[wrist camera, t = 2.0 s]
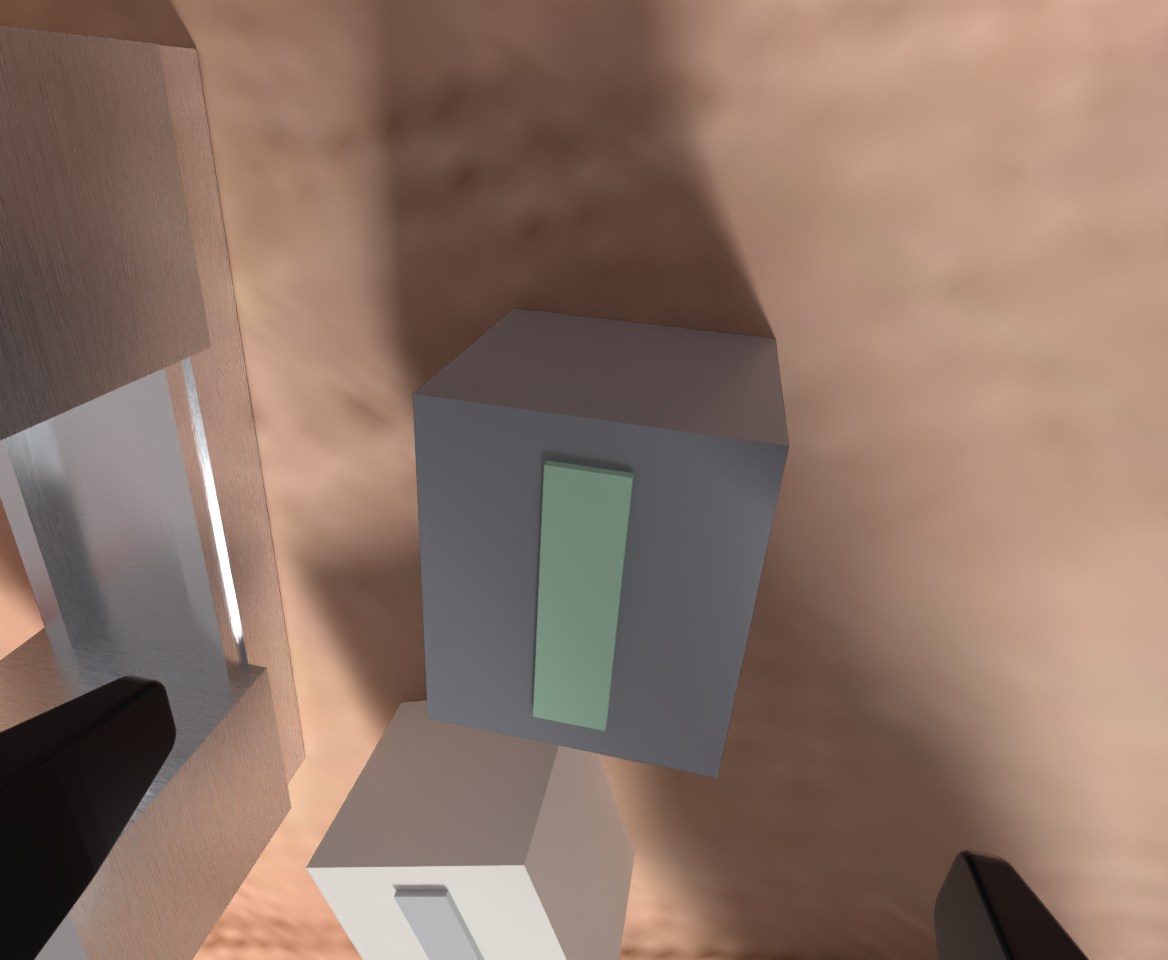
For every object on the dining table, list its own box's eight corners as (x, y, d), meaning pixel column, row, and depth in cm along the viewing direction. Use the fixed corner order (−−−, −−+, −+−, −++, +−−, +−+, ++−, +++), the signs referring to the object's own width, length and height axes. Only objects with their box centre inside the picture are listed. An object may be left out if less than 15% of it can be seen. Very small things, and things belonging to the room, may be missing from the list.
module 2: (635, 848, 21) (604, 1054, 16) (476, 851, 22) (407, 1041, 18) (576, 684, 18) (522, 872, 14) (403, 699, 20) (302, 874, 15)
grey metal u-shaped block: (321, 762, 21) (123, 1064, 15) (138, 721, 22) (-129, 990, 15) (221, 50, 13) (-345, -14, 6) (-65, 30, 14) (-838, -47, 7)
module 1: (725, 599, 16) (717, 785, 12) (509, 562, 17) (424, 725, 13) (775, 337, 14) (790, 450, 9) (515, 306, 14) (408, 397, 10)
